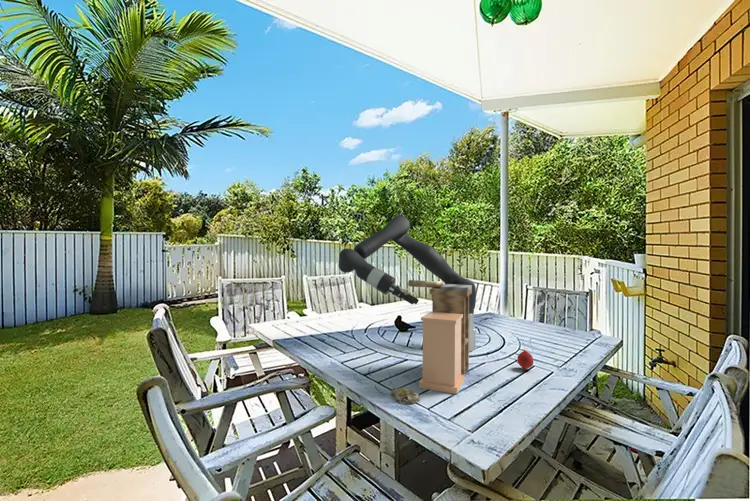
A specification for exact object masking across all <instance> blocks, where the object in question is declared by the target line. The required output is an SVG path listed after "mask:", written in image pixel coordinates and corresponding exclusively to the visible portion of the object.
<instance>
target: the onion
mask: <svg viewBox="0 0 750 501" xmlns="http://www.w3.org/2000/svg"><path fill="white" fill-rule="evenodd" d="M516 360H517V363H518V365H519V366H520V367H521V368H522V369H523V370H525V371H526V370H529V369H530V368H531V367H533V365H534V358H533V355H532V353H530V352H529V351H527V349H525V348H524V349H523V351H521V352H520V353H519V354H518V355H517V359H516Z"/></svg>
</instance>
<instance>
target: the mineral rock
mask: <svg viewBox="0 0 750 501" xmlns="http://www.w3.org/2000/svg"><path fill="white" fill-rule="evenodd" d="M390 395H391V396H392V398H394V399H396V402H398V403H400V404H404V405H408V404H415V403H417V402H420V401H421V399H420V394H419V393H417V392H415V391H413V390H410V389H408V388H405V387H400V388H398V387H394V386H393V387H392V388H391V392H390Z"/></svg>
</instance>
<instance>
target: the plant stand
mask: <svg viewBox="0 0 750 501" xmlns="http://www.w3.org/2000/svg"><path fill="white" fill-rule="evenodd" d="M471 293H472V288H471V289H470V290H468V291H458V290H441V288H429V295H432V298H431V299H432V301H431V303H432V304H431V306H432V308H431V309H432V310H431V312H441V313H454V314H463V317H462V318H461V375H464V378H465V377H466V371H467V372H468V371H469V369H470V368H469V367H470V363H469V362H470V352H469V295H470V294H471Z"/></svg>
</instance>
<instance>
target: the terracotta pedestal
mask: <svg viewBox="0 0 750 501" xmlns="http://www.w3.org/2000/svg"><path fill="white" fill-rule="evenodd" d="M462 317H463V314H454V313H441V312H432V311H429V312H428V313H426V314H424V315H422V316H421V317H420V321H421V322H422V377H421V379H420V380H419V381H418V388H419V389H424V390H432V391H436V392H441V393H449V394H455V395H458V394H459V392H460V390H461V387H462V385H463V384H464V382H465V377H464V375H461V318H462Z"/></svg>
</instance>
